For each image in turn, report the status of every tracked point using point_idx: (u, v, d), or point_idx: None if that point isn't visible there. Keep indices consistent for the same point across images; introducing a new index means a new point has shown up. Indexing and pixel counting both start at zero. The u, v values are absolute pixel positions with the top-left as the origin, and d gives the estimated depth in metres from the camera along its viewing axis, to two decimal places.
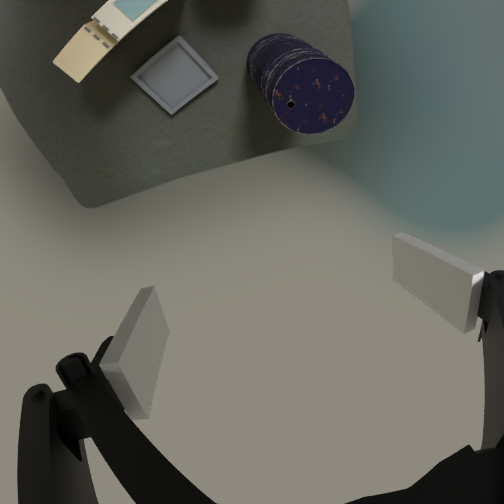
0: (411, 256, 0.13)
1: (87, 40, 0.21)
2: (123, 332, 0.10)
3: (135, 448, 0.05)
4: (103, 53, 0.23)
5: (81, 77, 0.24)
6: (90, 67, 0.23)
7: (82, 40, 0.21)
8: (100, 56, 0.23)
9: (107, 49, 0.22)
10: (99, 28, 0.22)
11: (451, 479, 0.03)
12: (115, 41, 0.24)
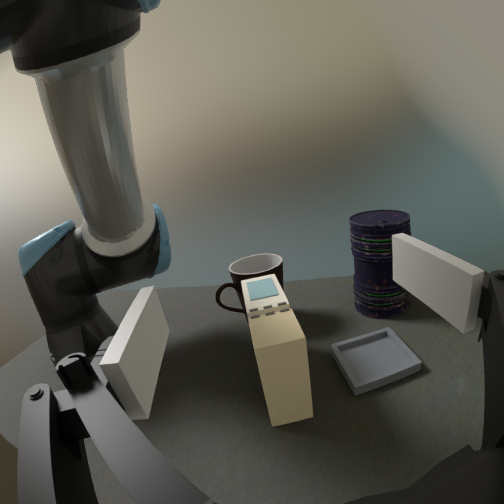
0: (411, 256, 0.13)
1: (265, 319, 0.29)
2: (123, 332, 0.10)
3: (135, 448, 0.05)
4: (291, 313, 0.29)
5: (300, 333, 0.25)
6: (296, 324, 0.27)
7: (261, 322, 0.28)
8: (292, 316, 0.28)
9: (290, 310, 0.29)
10: None
11: (451, 479, 0.03)
12: None
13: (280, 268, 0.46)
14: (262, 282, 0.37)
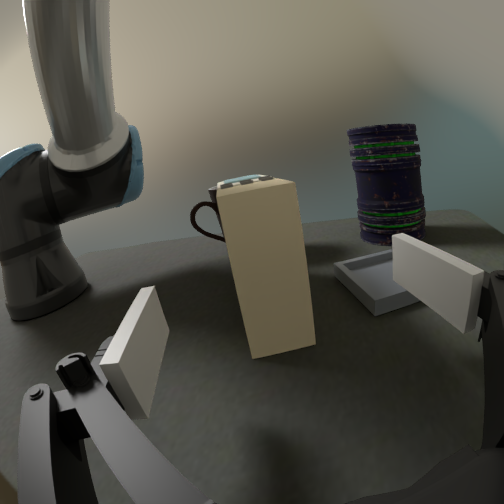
0: (411, 256, 0.13)
1: (240, 186, 0.21)
2: (123, 332, 0.10)
3: (135, 448, 0.05)
4: (276, 179, 0.21)
5: (287, 182, 0.17)
6: (282, 180, 0.19)
7: (234, 187, 0.20)
8: (277, 179, 0.20)
9: (274, 179, 0.21)
10: None
11: (451, 479, 0.03)
12: None
13: None
14: (243, 177, 0.29)
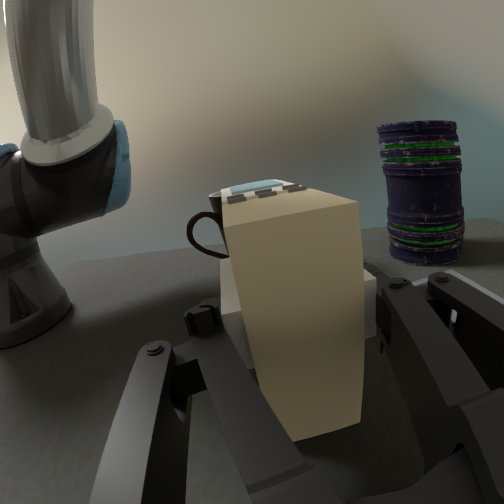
0: None
1: (258, 200, 0.13)
2: (229, 290, 0.12)
3: (247, 399, 0.06)
4: (312, 191, 0.14)
5: (341, 199, 0.10)
6: (328, 194, 0.12)
7: (249, 203, 0.13)
8: (315, 192, 0.13)
9: (308, 189, 0.14)
10: None
11: (451, 479, 0.03)
12: None
13: None
14: (255, 182, 0.22)
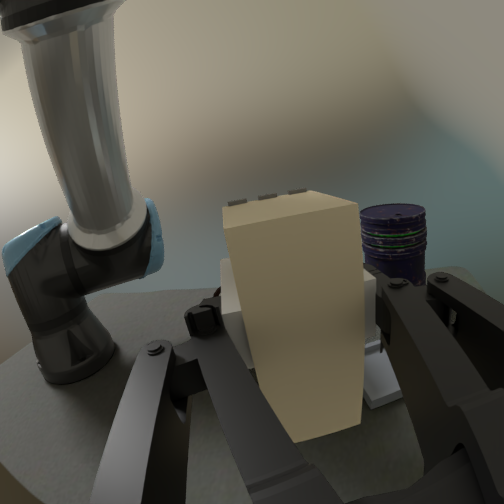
0: None
1: (259, 202, 0.14)
2: (229, 290, 0.12)
3: (247, 399, 0.06)
4: (312, 192, 0.14)
5: (341, 201, 0.10)
6: (328, 196, 0.12)
7: (249, 205, 0.13)
8: (315, 193, 0.13)
9: (308, 191, 0.14)
10: None
11: (451, 479, 0.03)
12: None
13: None
14: None
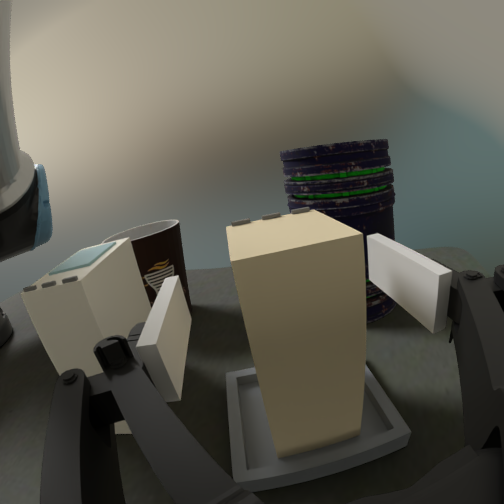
0: (384, 256, 0.14)
1: (263, 224, 0.14)
2: (155, 317, 0.11)
3: (168, 431, 0.06)
4: (316, 213, 0.14)
5: (346, 229, 0.10)
6: (332, 221, 0.12)
7: (253, 227, 0.13)
8: (319, 215, 0.13)
9: (312, 211, 0.14)
10: None
11: (451, 479, 0.03)
12: None
13: (169, 236, 0.28)
14: (95, 249, 0.19)
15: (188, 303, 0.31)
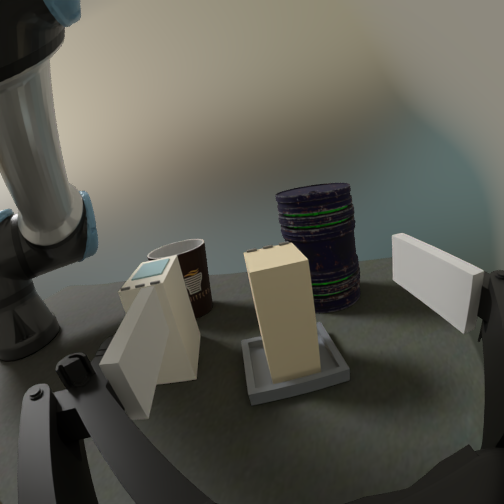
0: (411, 256, 0.13)
1: (263, 252, 0.26)
2: (123, 332, 0.10)
3: (135, 449, 0.05)
4: (291, 245, 0.26)
5: (302, 257, 0.23)
6: (297, 251, 0.24)
7: (258, 254, 0.26)
8: (292, 247, 0.26)
9: (290, 244, 0.27)
10: None
11: (451, 479, 0.03)
12: None
13: (198, 252, 0.40)
14: (157, 263, 0.31)
15: (210, 299, 0.44)
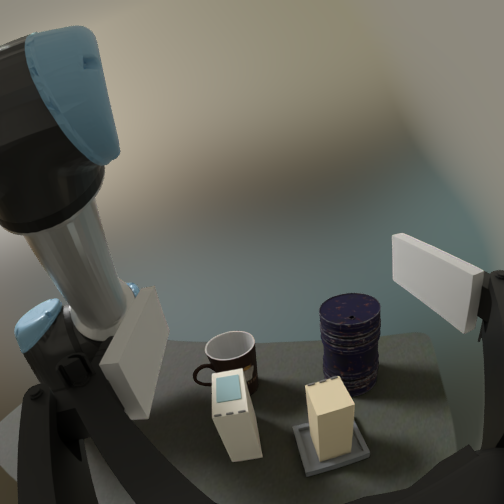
0: (411, 256, 0.13)
1: (320, 387, 0.33)
2: (123, 332, 0.10)
3: (135, 448, 0.05)
4: (340, 381, 0.33)
5: (350, 400, 0.30)
6: (346, 392, 0.31)
7: (317, 390, 0.33)
8: (341, 383, 0.33)
9: (338, 378, 0.34)
10: None
11: (451, 479, 0.03)
12: None
13: (252, 352, 0.47)
14: (230, 380, 0.38)
15: (257, 380, 0.51)
